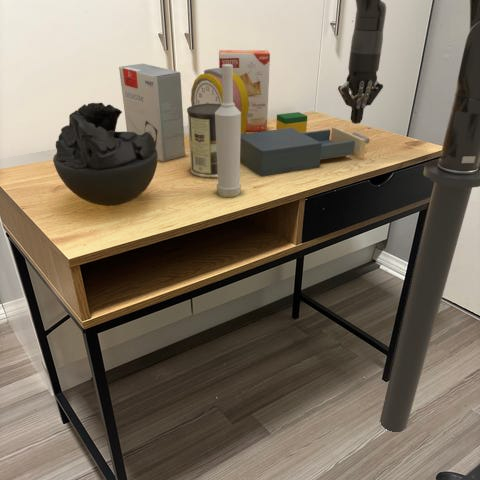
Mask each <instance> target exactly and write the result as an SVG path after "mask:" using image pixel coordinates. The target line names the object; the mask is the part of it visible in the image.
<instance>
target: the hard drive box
mask: <svg viewBox="0 0 480 480" xmlns="http://www.w3.org/2000/svg"><path fill="white" fill-rule="evenodd" d="M118 69H119V75H120V76H119V78H120V79H119V80H120V86H121V93H122V94H121V95H122V101H123V109H124V110H123V111H124V119H125V127H126V132H135V133H136V134H138V135H142V134H144V133H145V132H149V133H150V134H151V135H152V137H153V138H154V144H155V149H156V150H157V153H158V159H157V161H160V162H162V163H164V162H168V161H171V160H175V159H178V158H182V157H185V156H186V145H185V143H186V142H185V130H184V129H185V127H184V126H185V125H184V111H183V94H182V93H183V91H182V75H181V72H180V71H178V70H173V69H168V68H164V67H160V66H157V65H151V64H147V63H137V64H130V65H121V66H119V67H118Z"/></svg>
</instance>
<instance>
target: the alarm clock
mask: <svg viewBox="0 0 480 480" xmlns="http://www.w3.org/2000/svg"><path fill="white" fill-rule="evenodd" d="M221 103H223V80H222V69H221V68H219V67H214V68H213V67H212V68H208V69H205V70H203V73H201V74H199V75H198V76H197V77H196V78H195V79H194V80H193V84H192V86H191V91H190V104H191V106H193V105H199V104H221ZM233 103H234V104H235V107H236V108H237V109H238V110H239V111H240V112H241V134H245V133H247V131H246V124H247V116H248V108H249V101H248V93H247V90H246V88H245V85H244V82H243V81H242V80H241V78H240V77H239V76H238V74H236V73H234V72H233Z"/></svg>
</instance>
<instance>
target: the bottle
mask: <svg viewBox="0 0 480 480" xmlns="http://www.w3.org/2000/svg"><path fill="white" fill-rule="evenodd" d="M222 80H223V103H221V107H220V108H219V109H218V110H217V111H216V112H215V126H216V148H217V169H218V177H217V183H216V191H217V194H218V195H219V196H220V197H222V198H223V197H224V198H234V197H237V196H239V195H240V194H241V189H242V184H241V183H240V179H241V161H240V137H241V112H240V111H239V110H238V109H237V108H236V107H235V104H234V103H233V65H231V64H224V65H222Z"/></svg>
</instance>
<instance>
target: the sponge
mask: <svg viewBox="0 0 480 480" xmlns="http://www.w3.org/2000/svg"><path fill="white" fill-rule="evenodd" d="M307 127H308V115H306V114H303V113H302V112H300V111H296V112H288V113H277V114H276V129H275V130H278V129H286V128H293V129H295V130H297V131H299V132H301V133H305V132H307Z"/></svg>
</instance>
